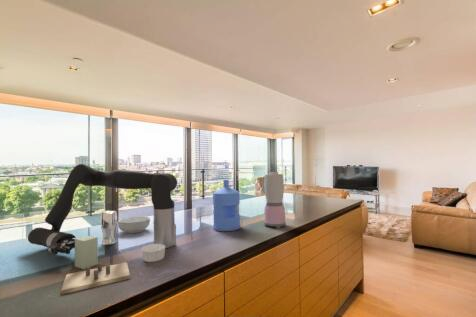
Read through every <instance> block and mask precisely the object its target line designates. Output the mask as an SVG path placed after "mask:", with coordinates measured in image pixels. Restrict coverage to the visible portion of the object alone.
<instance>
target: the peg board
mask: <svg viewBox="0 0 476 317" xmlns="http://www.w3.org/2000/svg"><path fill="white" fill-rule="evenodd" d="M102 265H103V263H102V262H98V264H97V267H96V268H92V269H91V267H86V269H84V270H81V271H76V272H71V273H66V275H65V278H64V281H63V284H62V286H61V290H60V295H66V294H70V293H75V292H78V291H83V290H86V289H91V288H96V287H99V286H104V285H108V284H112V283H116V282H121V281H126V280H129V279H131V273H130V271H129V266H128V262H125V261H124V262H121V263H117V264H116V263H115V264H112V265H111V264H110V265H109V264H108V265H106V266H102Z"/></svg>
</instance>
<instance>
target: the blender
mask: <svg viewBox="0 0 476 317" xmlns="http://www.w3.org/2000/svg"><path fill="white" fill-rule="evenodd" d="M284 186H285V184H284V174H282V173H279V171H269V172H268V173H265V174H264V176H263V177H262V178H261V191H262V193H263V194H264V195H265V199H266V200H265V201H266V204H265V207H264V226H265V227H267V226H269V227H275V228H276V229H280V228H281V227H286V223H287V222H286V209H285V208H286V207H285V206H284V203H283V202H284V201H283V199H284V193H285V188H284Z"/></svg>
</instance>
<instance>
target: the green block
mask: <svg viewBox="0 0 476 317" xmlns="http://www.w3.org/2000/svg"><path fill="white" fill-rule="evenodd" d="M98 239H99V238H98V236H93V235H86V236H85V235H84V236H82V237H76V239H75V248H74V267H76V268H79V269H82V270H86V267H90V268H91V267H93V266H96V265H97V266H98V263H99V260H98V256H99V254H98V252H99V251H98V248H99V247H98V246H99V242H98Z"/></svg>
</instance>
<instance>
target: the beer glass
mask: <svg viewBox="0 0 476 317" xmlns="http://www.w3.org/2000/svg"><path fill="white" fill-rule="evenodd" d="M100 214H101V215H100V226H101V227H100V228H101V233H102V241H101V245H102V246H110V245H114V244H116V242H117V240H116V232H117V226H118V215H117V214H118V213H117V210H105V211H102V212H101V213H100Z"/></svg>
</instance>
